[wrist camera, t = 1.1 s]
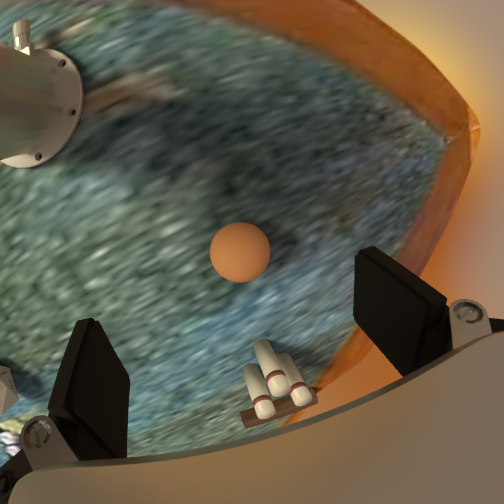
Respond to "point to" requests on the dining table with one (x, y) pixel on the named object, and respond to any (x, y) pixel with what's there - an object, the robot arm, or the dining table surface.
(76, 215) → the dining table surface
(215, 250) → the ball
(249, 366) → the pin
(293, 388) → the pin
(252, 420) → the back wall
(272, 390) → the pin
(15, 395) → the die
